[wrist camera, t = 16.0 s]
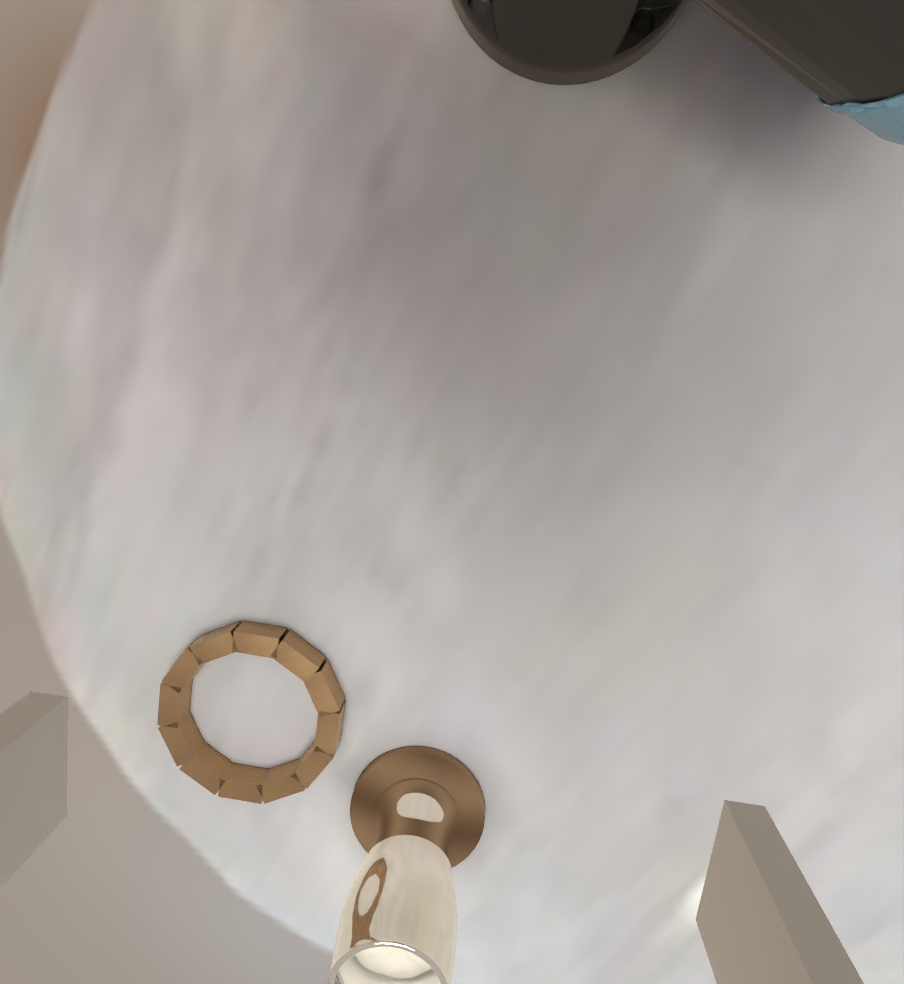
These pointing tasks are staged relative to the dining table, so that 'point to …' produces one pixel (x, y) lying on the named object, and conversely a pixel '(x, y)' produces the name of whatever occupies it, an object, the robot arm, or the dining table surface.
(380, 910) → the beer glass
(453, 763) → the walnut coaster
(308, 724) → the dining table surface
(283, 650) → the ring
